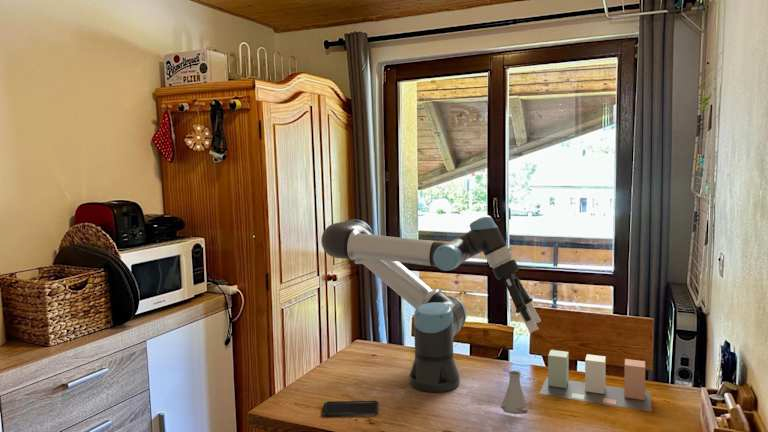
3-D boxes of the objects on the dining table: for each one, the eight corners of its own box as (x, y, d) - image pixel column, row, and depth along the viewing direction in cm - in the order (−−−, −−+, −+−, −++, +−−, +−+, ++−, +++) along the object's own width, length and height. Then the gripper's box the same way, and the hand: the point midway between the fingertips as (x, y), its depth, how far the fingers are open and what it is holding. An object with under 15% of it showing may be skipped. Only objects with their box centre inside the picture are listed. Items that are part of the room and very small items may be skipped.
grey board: (539, 398, 146) (539, 393, 146) (546, 381, 158) (546, 376, 158) (651, 417, 134) (651, 411, 134) (650, 397, 146) (650, 391, 146)
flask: (529, 415, 137) (529, 378, 136) (501, 413, 138) (501, 377, 137) (527, 403, 144) (527, 368, 143) (500, 402, 145) (500, 367, 144)
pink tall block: (624, 397, 142) (624, 364, 142) (624, 390, 147) (625, 358, 146) (644, 400, 140) (645, 367, 139) (644, 392, 145) (645, 361, 144)
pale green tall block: (548, 385, 151) (548, 355, 150) (550, 379, 155) (550, 349, 155) (566, 388, 149) (566, 357, 148) (568, 381, 153) (568, 351, 153)
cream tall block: (585, 391, 147) (585, 359, 146) (586, 384, 151) (586, 354, 150) (604, 394, 144) (604, 362, 144) (605, 387, 149) (605, 356, 148)
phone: (324, 401, 146) (378, 400, 146) (324, 405, 147) (378, 404, 146) (321, 414, 139) (377, 413, 138) (321, 418, 139) (377, 417, 138)
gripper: (509, 260, 148) (545, 329, 145) (517, 255, 172) (548, 315, 168) (485, 271, 151) (520, 340, 147) (497, 265, 174) (527, 324, 170)
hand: (535, 326), depth 158 cm, fingers open, 13 cm apart
